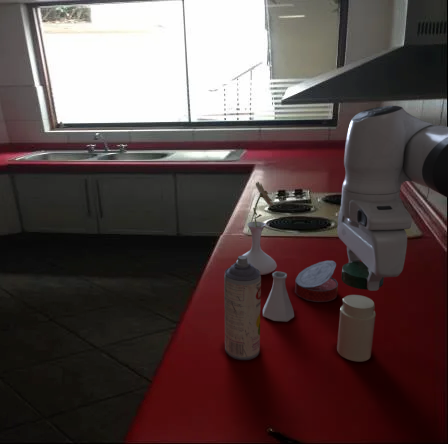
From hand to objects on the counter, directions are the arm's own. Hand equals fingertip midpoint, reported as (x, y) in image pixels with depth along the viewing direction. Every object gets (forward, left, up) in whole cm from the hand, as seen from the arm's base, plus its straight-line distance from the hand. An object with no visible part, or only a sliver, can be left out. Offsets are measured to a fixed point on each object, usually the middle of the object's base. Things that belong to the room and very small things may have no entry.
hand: (362, 278), depth 75 cm
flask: (+14, -12, -16) cm, 25 cm away
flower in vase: (+20, -36, -16) cm, 45 cm away
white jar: (0, 0, -16) cm, 16 cm away
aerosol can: (+21, +3, -16) cm, 27 cm away
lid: (0, 0, +1) cm, 1 cm away
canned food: (+5, -24, -16) cm, 30 cm away
